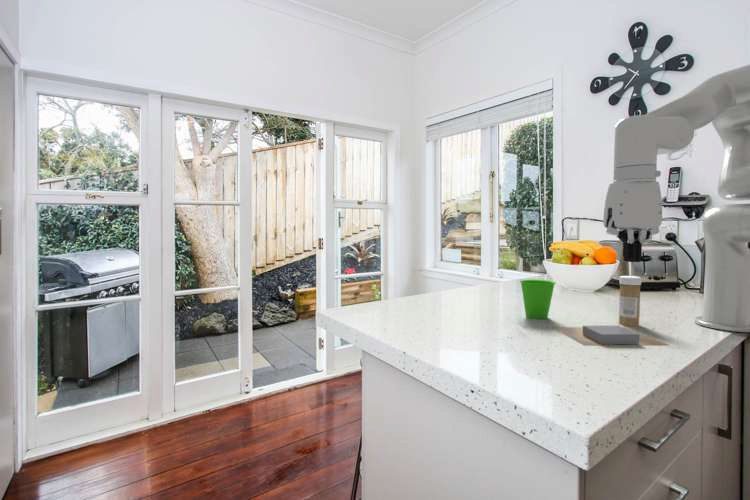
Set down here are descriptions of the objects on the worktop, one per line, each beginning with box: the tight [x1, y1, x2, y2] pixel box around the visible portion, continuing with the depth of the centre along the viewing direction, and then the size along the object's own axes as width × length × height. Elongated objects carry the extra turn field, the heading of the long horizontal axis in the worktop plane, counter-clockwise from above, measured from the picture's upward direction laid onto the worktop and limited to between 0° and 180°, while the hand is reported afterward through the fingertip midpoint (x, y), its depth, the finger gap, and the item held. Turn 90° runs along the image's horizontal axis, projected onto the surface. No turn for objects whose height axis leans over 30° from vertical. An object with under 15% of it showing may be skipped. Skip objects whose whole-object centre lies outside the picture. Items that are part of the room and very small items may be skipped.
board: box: [552, 326, 670, 346], centre depth 84 cm, size 18×14×1 cm
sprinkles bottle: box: [618, 275, 642, 327], centre depth 94 cm, size 5×5×13 cm
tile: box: [582, 325, 640, 344], centre depth 81 cm, size 2×7×8 cm
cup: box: [519, 279, 556, 320], centre depth 102 cm, size 9×9×11 cm
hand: (631, 261), depth 80 cm, fingers closed
